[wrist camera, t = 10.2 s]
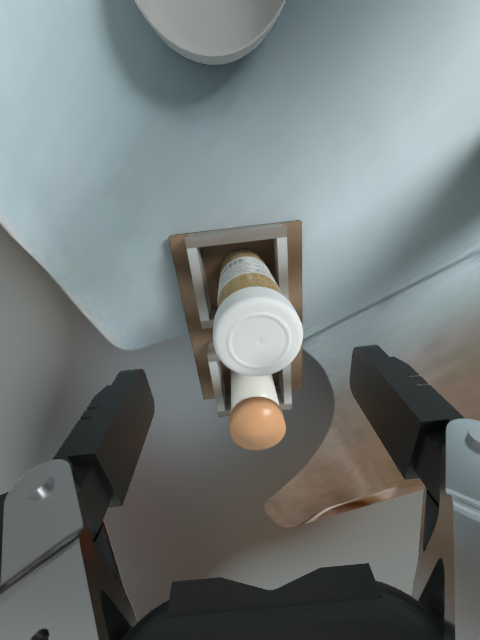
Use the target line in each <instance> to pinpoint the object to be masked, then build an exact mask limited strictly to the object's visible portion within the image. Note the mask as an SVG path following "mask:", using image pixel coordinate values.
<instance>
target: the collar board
mask: <svg viewBox="0 0 480 640" xmlns="http://www.w3.org/2000/svg"><path fill="white" fill-rule="evenodd" d="M168 238H169V242H170V247H171V251H172V256H173V261H174V265H175V270H176V274H177V279H178V284H179V288H180V293H181V297H182V302H183V306H184V311H185V316H186V320H187V325H188V329H189V334H190V339H191V343H192V348H193V352H194V357H195V361H196V366H197V371H198V375H199V380H200V384H201V389H202V394H203V398H204V399H212V398H215V399H216V404H217V410H218V415H219V417H223V416H230V414H231V369H229V368H228V367H227V366H225V365H224V364H223V363H222V361H221V360H220V359H219V357H218V356H217V354H216V351H215V349H214V345H213V324H214V318H215V315H216V312H217V309H218V303H217V299H218V288H219V279H220V268H221V265H222V262H223V260H224V259H225V258H226V256H227V255H229V254H231V253H232V252H233V251H236V250H239V249H248V250H252V251H254V252H257V253H258V254H259V255H260V256H261V257H262V258H263V260H264V261H265V264H266V266H267V268H268V269H269V271H270V273H271V275H272V276H273V278H274V280H275V282H276V283H277V285H278V287H279V288H280V291H281V293H282V295H283V296H285V297H286V298H287V299H288V300H289V301H290V303H291V304H292V306H293V307H294V309H295V311H296V312H297V314H298V316H299V318H300V321H301V323H302V221H300V220H296V221H287V222H279V223H270V224H262V225H253V226H245V227H236V228H228V229H219V230H211V231H202V232H194V233H185V234H177V235H171V236H169V237H168ZM272 377H273V381H274V386H275V390H276V394H277V398H278V402H279V406H280V408H281V410H286V409H292V397H291V396H292V395H291V390H293V389H302V345H301V348H300V350H299V352H298V354H297V356H296V357H295V358H294V360H293V361H292V362H291V363H290V364H289V365H287V366H286V367H285V368H283V369H282V370H280V371H278V372H276V373H273V374H272Z"/></svg>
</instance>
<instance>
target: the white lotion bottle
mask: <svg viewBox="0 0 480 640" xmlns="http://www.w3.org/2000/svg"><path fill="white" fill-rule="evenodd" d="M285 431H286V425H285V422H284V417H283V413H282V410H281V408H280V406H279V402H278V398H277V394H276V390H275V386H274V381H273V377H272V374H270V375H266V376H257V377H254V376H245V375H242V374H239V373H236V372H234V371H232V370H231V414H230V434H231V437H232V439H233V441H234V442H235V443H236V444H237V445H239V446H241V447H243V448H245V449H249V450H263V449H267V448H270V447H272V446H274V445H276V444H277V443H278V442H280V441H281V439H282V438H283V436H284V435H285Z"/></svg>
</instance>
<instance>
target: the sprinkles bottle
mask: <svg viewBox="0 0 480 640" xmlns="http://www.w3.org/2000/svg"><path fill="white" fill-rule="evenodd" d="M217 303H218V309H217V312H216V315H215V318H214V324H213V345H214V349H215V351H216V354H217V356H218V357H219V359H220V360H221V361H222V363H223V364H224V365H225V366H227V367H228V368H229V369H231V370H232V371H234V372H236V373H239V374H242V375H245V376H254V377H257V376H266V375H270V374H273V373H276V372H278V371H280V370H282V369H283V368H285V367H286V366H287V365H289V364H290V363H291V362H292V361H293V360H294V358H295V357H296V356H297V354H298V352H299V350H300V348H301V345H302V340H303V328H302V323H301V321H300V318H299V316H298V314H297V312H296V311H295V309H294V307H293V306H292V304H291V303H290V301H289V300H288V299H287V298H286V297H285V296H283V295H282V293H281V291H280V288H279V287H278V285H277V283H276V282H275V280H274V278H273V276H272V275H271V273H270V271H269V269H268V268H267V266H266V264H265V261H264V260H263V258H262V257H261V256H260V255H259V254H258V253H257V252H254V251H252V250H248V249H239V250H236V251H233V252H232V253H231V254H229V255H227V256H226V258H225V259H224V260H223V262H222V265H221V268H220V279H219V288H218V299H217Z"/></svg>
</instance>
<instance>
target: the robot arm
mask: <svg viewBox="0 0 480 640" xmlns="http://www.w3.org/2000/svg"><path fill="white" fill-rule="evenodd" d="M350 388H351V391H352V394H353V396H354V398H355V399H356V401H357V403H358V404H359V406H360V407H361V409H362V411H363V412H364V414H365V416H366V417H367V419H368V420H369V422H370V424H371V425H372V427H373V429H374V430H375V432H376V434H377V435H378V437H379V438H380V440H381V442H382V443H383V445H384V447H385V448H386V450H387V451H388V453H389V455H390V456H391V458H392V460H393V461H394V463H395V464H396V466H397V468H398V469H399V471H400V473H401V474H402V476H403V477H404V479H415V478H420V479H421V480H422V482H423V483H424V485H425V489H424V492H423V504H422V517H421V530H420V543H419V555H418V563H417V568H416V572H415V577H414V582H413V589H412V596H410V595H408V594H406V593H404V592H403V591H401V590H399V589H397V588H395V587H392V586H390V585H387V584H385V583H382V582H378V581H375V579H374V576H373V573H372V571H371V568H370V566H369V563H366V564H356V565H345V566H335V567H324V568H319V569H317V570H315V571H313V572H311V573H309V574H306V575H304V576H302V577H300V578H298V579H296V580H294V581H292V582H290V583H288V584H286V585H284V586H282V587H280V588H278V589H275V590H265V589H262V588H258V587H254V586H250V585H246V584H243V583H239V582H235V581H232V580H228V579H224V578H220V577H219V578H209V579H198V580H187V581H177V582H172V586H171V592H170V599H169V600H168V601H166V602H164V603H162V604H161V605H159V606H158V607H156V608H154V609H153V610H151V611H150V612H149V613H148V614H146V615H145V616H144V617H143V618H142V619H140V620H139V621H137V618H136V615H135V612H134V610H133V607H132V605H131V603H130V600H129V598H128V596H127V594H126V592H125V589H124V586H123V583H122V580H121V576H120V573H119V569H118V566H117V563H116V560H115V556H114V552H113V549H112V546H111V542H110V539H109V535H108V532H107V529H106V526H105V523H104V521H103V518H104V516H105V513H106V510H107V508H108V507H116V506H122V505H123V502H124V500H125V497H126V494H127V491H128V488H129V485H130V482H131V479H132V476H133V473H134V470H135V467H136V465H137V462H138V459H139V456H140V453H141V450H142V447H143V444H144V442H145V439H146V435H147V433H148V430H149V427H150V424H151V421H152V418H153V415H154V399H153V396H152V393H151V390H150V387H149V384H148V381H147V378H146V374H145V372H144V370H143V369H134V370H126V371H120V372H119V374H118V375H117V377H116V378H115V380H114V382H113V383H112V385H110V386H106V387H105V388H104V389H103V390H102V391H100V392H99V393H98V394H97V395H96V396H95V397H94V398H93V400H92V401H91V403H90V404H89V406H88V407H87V410H86V411H85V412H84V413H83V415H82V416H81V420H79V421H78V422H77V424H76V425H75V427H74V428H73V430H72V431H71V433H70V434H69V436H68V437H67V439H66V440H65V442H64V443H63V445H62V446H61V448H60V449H59V451H58V452H57V454H56V455H55V457H54V458H53V460H50V461H47V462H44V463H42V464H40V465H38V466H36V467H34V468H33V469H31V470H30V471H29V472H27V473H26V474H25V475H24V476H22V477H21V478H20V479H19V480H18V481H17V482H16V483H15V485H14V486H13V487H12V488H11V490H10V491H9V492H7V493H5V494H2V495H0V640H480V421H476V420H472V419H465V418H464V417H463V416H462V415H461V414H460V413H459V412H458V411H457V410H456V409H455V408H454V407H453V406H451V405H450V404H449V403H448V402H447V401H446V400H445V399H444V398H443V397H442V396H441V395H440V394H439V393H438V392H437V391H436V390H435V389H434V388H433V387H431V386H430V385H428V383H427V382H426V381H425V380H424V379H423V378H422V377H419V374H418V373H417V372H416V371H415V370H414V369H413V368H412V367H410V366H409V365H408V364H407V363H405V362H403V361H401V360H399V359H397V358H395V357H389V356H388V355H387V354H386V353H385V352H384V351H383V350H382V349H381V348H380V347H379V346H378V345H369V346H360V347H355V348H354V349H353V354H352V363H351V372H350Z"/></svg>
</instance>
